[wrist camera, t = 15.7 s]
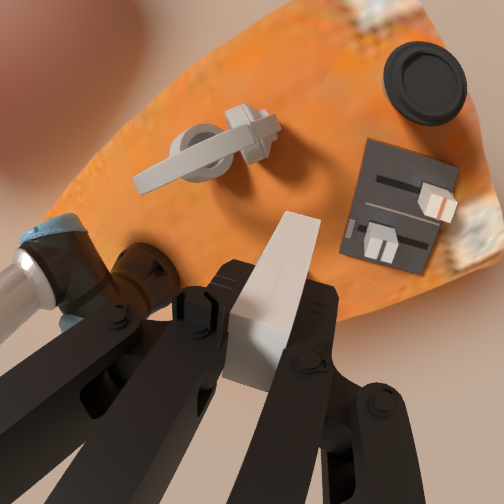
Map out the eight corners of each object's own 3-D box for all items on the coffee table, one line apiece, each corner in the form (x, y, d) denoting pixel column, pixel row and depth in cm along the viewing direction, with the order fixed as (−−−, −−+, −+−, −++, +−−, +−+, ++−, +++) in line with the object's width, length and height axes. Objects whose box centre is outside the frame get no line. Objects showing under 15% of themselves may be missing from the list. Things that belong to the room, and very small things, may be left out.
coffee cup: (447, 94, 32) (490, 98, 20) (402, 129, 37) (427, 147, 25) (406, 43, 31) (431, 21, 18) (360, 78, 36) (366, 71, 23)
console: (339, 247, 49) (338, 257, 46) (367, 137, 40) (368, 141, 37) (418, 268, 46) (421, 279, 44) (455, 165, 37) (461, 171, 34)
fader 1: (363, 240, 45) (364, 257, 40) (369, 221, 43) (370, 237, 39) (388, 246, 44) (391, 264, 40) (394, 228, 42) (398, 244, 38)
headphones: (197, 181, 51) (123, 233, 35) (176, 138, 48) (92, 172, 32) (304, 141, 43) (270, 177, 26) (282, 89, 40) (232, 90, 23)
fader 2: (417, 202, 39) (424, 215, 35) (423, 181, 38) (431, 193, 33) (441, 209, 38) (450, 224, 34) (447, 190, 37) (458, 202, 33)
